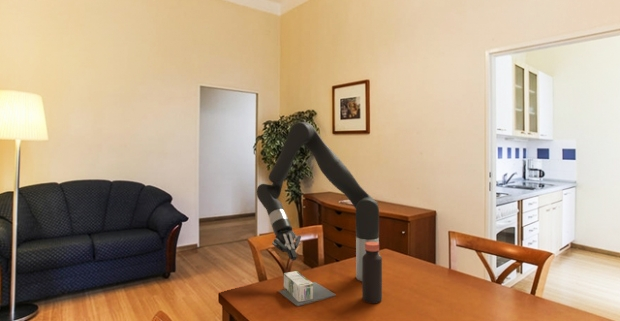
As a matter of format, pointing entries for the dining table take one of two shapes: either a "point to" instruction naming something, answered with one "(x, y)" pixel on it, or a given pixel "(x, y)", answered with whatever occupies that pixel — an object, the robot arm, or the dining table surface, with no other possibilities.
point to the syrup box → (298, 286)
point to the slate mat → (318, 294)
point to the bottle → (372, 273)
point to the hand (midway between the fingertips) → (294, 259)
